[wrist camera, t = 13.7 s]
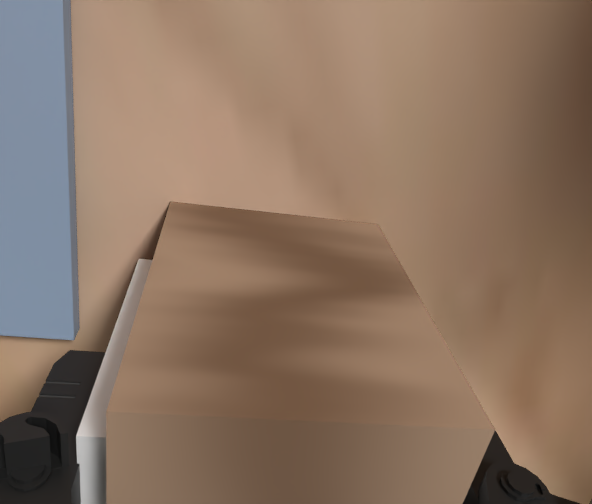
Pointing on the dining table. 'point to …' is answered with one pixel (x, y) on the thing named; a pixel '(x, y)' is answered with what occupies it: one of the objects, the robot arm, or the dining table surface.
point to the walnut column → (286, 372)
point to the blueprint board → (37, 172)
